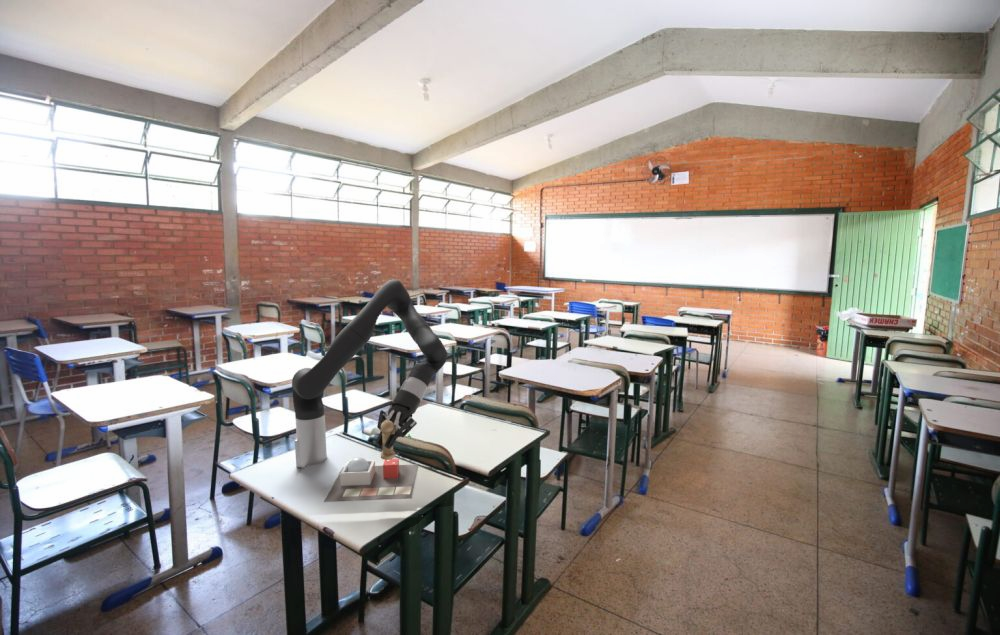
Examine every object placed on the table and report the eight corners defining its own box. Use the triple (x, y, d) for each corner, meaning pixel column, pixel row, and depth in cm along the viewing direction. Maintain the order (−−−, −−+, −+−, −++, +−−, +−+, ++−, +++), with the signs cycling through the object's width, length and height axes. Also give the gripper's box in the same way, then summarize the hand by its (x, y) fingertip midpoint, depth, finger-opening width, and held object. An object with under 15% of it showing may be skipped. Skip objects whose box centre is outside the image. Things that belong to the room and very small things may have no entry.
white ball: (345, 482, 145) (344, 463, 144) (350, 472, 151) (349, 454, 150) (366, 481, 145) (366, 462, 144) (370, 472, 152) (370, 453, 151)
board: (323, 506, 135) (323, 501, 134) (343, 471, 156) (342, 466, 156) (411, 502, 137) (411, 497, 136) (418, 468, 158) (418, 464, 158)
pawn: (379, 459, 136) (378, 423, 134) (382, 453, 140) (381, 418, 138) (394, 459, 136) (393, 423, 135) (396, 453, 140) (395, 417, 139)
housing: (341, 485, 144) (340, 473, 143) (347, 472, 152) (347, 460, 152) (370, 484, 144) (369, 472, 144) (375, 471, 153) (375, 459, 152)
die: (383, 478, 148) (382, 465, 148) (385, 472, 153) (385, 458, 152) (397, 477, 149) (397, 464, 148) (399, 471, 153) (398, 458, 152)
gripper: (433, 405, 143) (406, 457, 135) (399, 397, 151) (372, 446, 142) (422, 392, 138) (393, 446, 130) (387, 385, 145) (358, 435, 137)
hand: (382, 446), depth 136 cm, fingers closed on pawn, 3 cm apart
